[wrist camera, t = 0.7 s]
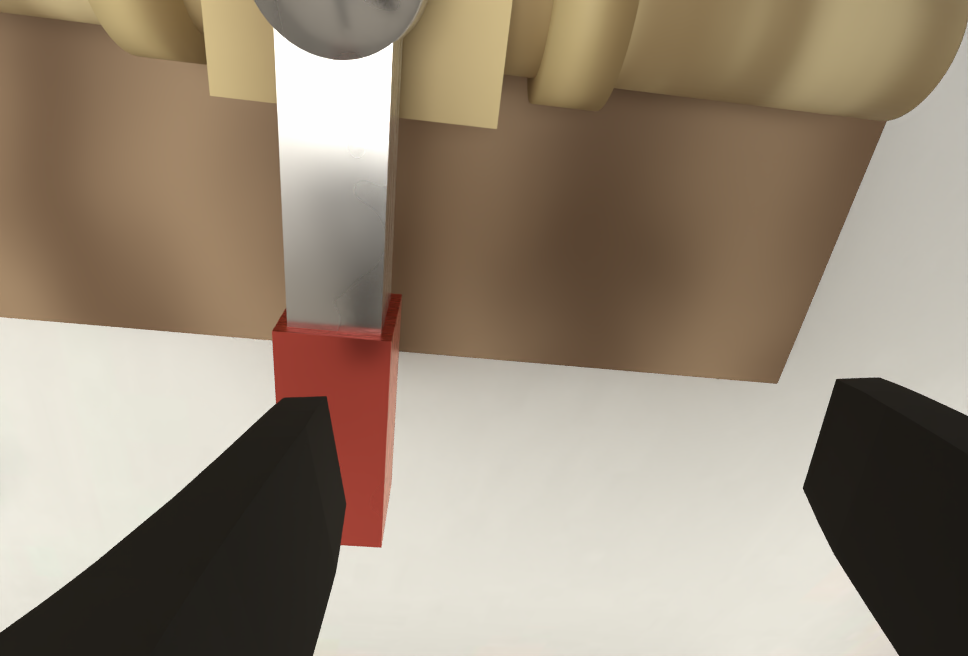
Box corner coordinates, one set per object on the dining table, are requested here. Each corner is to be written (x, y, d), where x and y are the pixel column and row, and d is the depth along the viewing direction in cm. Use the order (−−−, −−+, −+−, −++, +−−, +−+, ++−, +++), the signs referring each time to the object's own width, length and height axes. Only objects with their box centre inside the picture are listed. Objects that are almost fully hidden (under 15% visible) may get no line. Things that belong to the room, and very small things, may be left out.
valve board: (1011, -256, 13) (1387, -436, 8) (763, 367, 20) (867, 493, 15) (-301, -490, 11) (-1021, -956, 6) (-41, 296, 18) (-245, 413, 13)
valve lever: (271, -142, 9) (223, -179, 7) (438, -118, 9) (432, -146, 7) (297, 477, 14) (274, 540, 12) (399, 484, 14) (390, 548, 13)
